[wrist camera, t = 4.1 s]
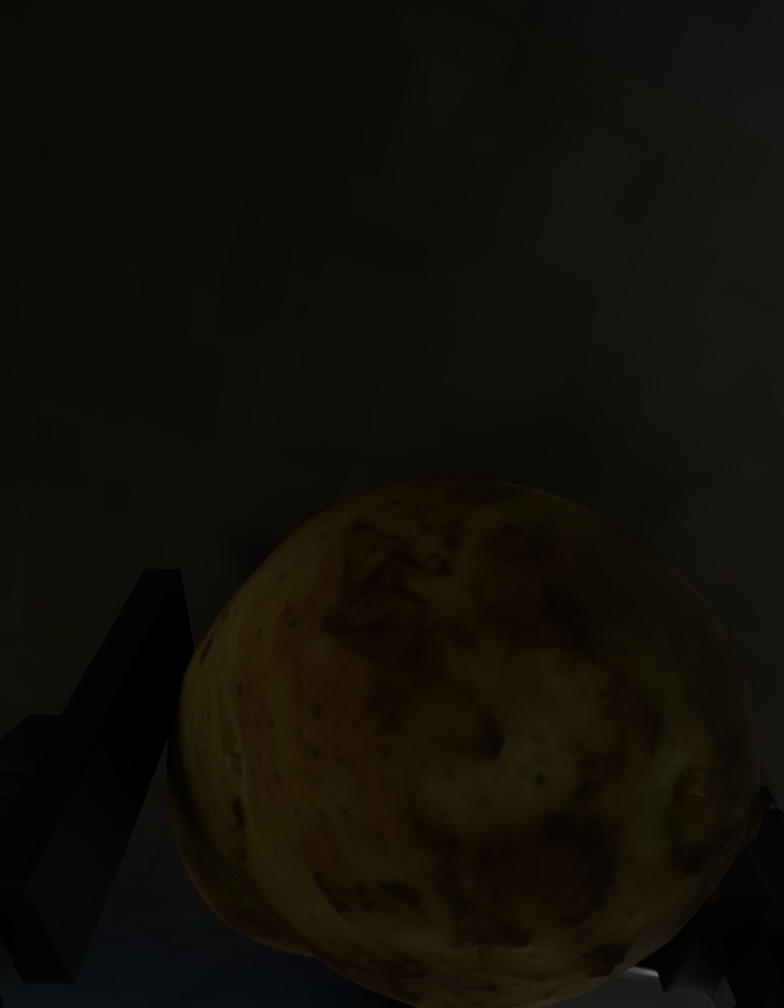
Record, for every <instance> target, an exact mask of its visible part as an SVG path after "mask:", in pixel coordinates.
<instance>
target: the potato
mask: <svg viewBox="0 0 784 1008" xmlns="http://www.w3.org/2000/svg"><path fill="white" fill-rule="evenodd" d="M760 782H761V764H760V733H759V728H758V723H757V718H756V710H755V708H754V703H753V700H752V697H751V694H750V691H749V688H748V684H747V681H746V678H745V675H744V672H743V669H742V666H741V663H740V660H739V656H738V654H737V652H736V650H735V648H734V646H733V644H732V642H731V641H730V639H729V637H728V635H727V633H726V631H725V629H724V628H723V626H722V624H721V622H720V620H719V618H718V617H717V615H716V614H715V612H714V611H713V610H712V608H711V607H710V605H709V604H708V602H707V601H706V600H705V598H704V597H703V596H702V595H701V594H700V593H699V592H698V591H697V590H696V589H695V587H694V586H693V585H692V584H691V583H690V582H689V581H688V580H687V579H686V578H685V577H684V576H683V575H682V574H681V573H680V572H679V571H678V570H677V569H676V568H675V567H674V566H673V565H672V564H671V563H670V562H669V561H667V560H666V559H665V558H663V557H662V556H661V555H659V554H658V553H657V552H656V551H654V550H653V549H652V548H650V547H649V546H648V545H647V544H645V543H644V542H643V541H642V540H640V539H639V538H638V537H636V536H635V535H634V534H632V533H630V532H629V531H627V530H626V529H624V528H622V527H621V526H619V525H618V524H616V523H614V522H613V521H611V520H609V519H608V518H606V517H604V516H603V515H601V514H599V513H597V512H595V511H593V510H590V509H588V508H586V507H584V506H581V505H579V504H577V503H575V502H572V501H570V500H568V499H566V498H563V497H560V496H557V495H555V494H552V493H549V492H546V491H543V490H540V489H537V488H533V487H530V486H527V485H524V484H521V483H520V482H519V481H518V480H517V479H516V480H515V482H514V483H511V482H507V481H504V480H501V479H497V478H496V477H494V476H493V475H491V474H490V473H476V474H474V473H471V474H454V475H435V476H422V477H416V478H414V479H412V480H410V481H406V482H402V483H398V484H394V485H390V486H386V487H383V488H379V489H376V490H372V491H369V492H365V493H363V494H360V495H358V496H355V497H353V498H350V499H348V500H345V501H343V502H340V503H338V504H336V505H334V506H333V505H331V506H328V507H326V508H325V509H323V510H321V511H316V512H309V513H305V514H304V515H303V516H302V517H301V518H299V519H298V521H297V523H296V525H295V526H294V528H293V530H292V531H291V534H290V535H289V536H288V537H287V538H286V539H285V540H284V541H283V542H282V543H281V544H280V545H279V546H278V547H277V548H276V549H275V550H274V551H273V552H272V553H271V554H270V555H269V556H268V557H267V558H266V559H265V560H264V561H263V562H262V563H261V564H260V566H259V567H258V568H257V569H256V570H255V571H254V572H253V573H252V574H251V576H250V577H249V578H248V579H247V580H246V581H245V582H244V583H243V584H242V585H241V587H240V588H239V589H238V590H237V591H236V592H235V593H234V594H233V596H232V597H231V598H230V600H229V601H228V603H227V604H226V605H225V607H224V608H223V610H222V611H221V612H220V614H219V615H218V617H217V618H216V620H215V622H214V623H213V625H212V627H211V628H210V630H209V631H208V632H207V634H206V635H205V636H204V637H203V639H202V640H201V642H200V644H199V645H198V647H197V648H196V650H195V652H194V654H193V655H192V657H191V659H190V661H189V664H188V666H187V669H186V671H185V674H184V676H183V678H182V681H181V683H180V686H179V692H178V697H177V702H176V706H175V709H174V712H173V715H172V723H171V729H170V734H169V740H168V751H167V784H168V798H169V809H170V815H171V820H172V825H173V829H174V834H175V839H176V844H177V847H178V850H179V853H180V857H181V859H182V862H183V864H184V866H185V868H186V871H187V872H188V874H189V876H190V878H191V880H192V882H193V884H194V886H195V889H196V891H197V894H198V897H199V899H201V900H202V901H203V902H205V903H206V904H207V905H208V906H209V907H210V908H211V909H212V910H213V911H214V913H215V914H216V915H217V916H218V917H219V918H221V919H222V920H223V921H224V922H226V923H227V924H228V925H230V926H231V927H232V928H233V929H235V930H236V931H238V932H239V933H241V934H242V935H244V936H246V937H248V938H250V939H252V940H254V941H256V942H259V943H261V944H264V945H267V946H269V947H273V948H276V949H279V950H282V951H285V952H289V953H294V954H299V955H304V956H312V957H315V958H317V959H318V960H320V961H321V962H323V963H324V964H325V965H327V966H328V967H330V968H331V969H333V970H334V971H336V972H338V973H340V974H341V975H343V976H345V977H347V978H348V979H350V980H352V981H354V982H356V983H357V984H359V985H361V986H363V987H364V988H367V989H369V990H371V991H373V992H376V993H378V994H380V995H383V996H386V997H389V998H392V999H395V1000H398V1001H401V1002H404V1003H407V1004H410V1005H414V1006H417V1007H420V1008H534V1007H540V1006H545V1005H550V1004H554V1003H557V1002H560V1001H563V1000H566V999H569V998H573V997H576V996H579V995H582V994H585V993H588V992H590V991H591V990H593V989H594V988H596V987H597V986H599V985H600V984H602V983H611V982H612V981H613V980H614V979H615V978H616V977H617V976H619V975H620V974H622V973H623V972H625V971H626V970H628V969H629V968H631V967H632V966H634V965H635V964H637V963H638V962H640V961H641V960H643V959H644V958H646V957H647V956H649V955H650V954H652V953H653V952H654V951H656V950H657V949H659V948H660V947H662V946H663V945H665V944H666V943H668V942H669V941H671V940H672V939H673V938H674V937H675V936H676V934H677V933H678V932H679V931H680V930H681V929H682V928H683V927H684V926H685V925H686V924H687V922H688V921H689V920H690V919H691V918H692V917H693V916H694V915H695V914H696V913H697V912H698V910H699V909H700V908H701V907H702V905H703V904H704V905H709V906H712V904H713V903H714V901H715V900H717V899H718V898H719V897H720V896H721V895H722V891H721V879H722V878H723V876H724V875H725V874H726V872H727V871H728V869H729V868H730V866H731V865H732V863H733V862H734V860H735V859H736V857H737V856H738V854H739V853H740V852H741V851H743V850H744V849H745V848H746V847H747V846H748V845H749V844H750V843H751V842H753V841H754V840H755V839H756V838H757V837H758V834H759V830H760V826H761V822H762V818H763V815H764V812H763V808H762V805H761V801H760V798H759V791H760Z"/></svg>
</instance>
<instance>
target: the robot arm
mask: <svg viewBox="0 0 784 1008" xmlns="http://www.w3.org/2000/svg"><path fill="white" fill-rule="evenodd" d="M194 652H195V650H194V644H193V639H192V633H191V627H190V622H189V616H188V610H187V605H186V599H185V593H184V588H183V582H182V577H181V571H180V569H145V570H144V572H143V573H142V575H141V577H140V579H139V580H138V582H137V584H136V585H135V587H134V589H133V591H132V592H131V594H130V596H129V598H128V599H127V601H126V603H125V604H124V606H123V608H122V610H121V611H120V613H119V615H118V617H117V618H116V620H115V622H114V624H113V625H112V627H111V629H110V630H109V632H108V634H107V636H106V637H105V639H104V641H103V643H102V644H101V646H100V648H99V649H98V651H97V653H96V655H95V656H94V658H93V660H92V662H91V663H90V665H89V667H88V668H87V670H86V672H85V674H84V675H83V677H82V679H81V681H80V682H79V684H78V686H77V688H76V689H75V691H74V693H73V694H72V696H71V698H70V700H69V701H68V703H67V705H66V707H65V708H64V710H63V712H62V713H61V715H28V716H27V717H26V718H25V719H24V720H23V721H21V722H20V723H19V724H18V725H17V726H16V727H14V728H13V729H12V730H11V731H10V732H9V733H8V734H6V735H5V736H4V737H3V738H2V739H1V740H0V993H1V991H2V988H3V986H4V984H5V982H6V980H7V977H8V975H9V973H10V971H11V969H12V967H13V966H14V968H15V970H16V971H17V973H18V975H19V976H20V978H21V980H22V982H23V983H45V984H75V983H76V980H77V978H78V975H79V972H80V970H81V967H82V964H83V962H84V959H85V956H86V954H87V951H88V948H89V946H90V943H91V940H92V938H93V935H94V932H95V930H96V927H97V924H98V922H99V919H100V916H101V914H102V911H103V908H104V906H105V903H106V900H107V898H108V895H109V893H110V890H111V887H112V885H113V882H114V879H115V877H116V874H117V871H118V869H119V866H120V863H121V861H122V858H123V855H124V853H125V850H126V847H127V845H128V842H129V839H130V837H131V834H132V831H133V829H134V826H135V823H136V821H137V818H138V815H139V813H140V810H141V807H142V805H143V802H144V799H145V797H146V794H147V791H148V789H149V786H150V783H151V781H152V778H153V775H154V773H155V770H156V767H157V765H158V762H159V759H160V757H161V754H162V751H163V749H164V746H165V743H166V741H167V738H168V736H169V733H170V729H171V723H172V715H173V712H174V709H175V706H176V702H177V697H178V692H179V686H180V683H181V681H182V678H183V676H184V674H185V671H186V669H187V666H188V664H189V661H190V659H191V657H192V655H193V654H194ZM763 782H764V781H763V779H762V777H761V782H760V791H759V798H760V801H761V805H762V808H763V812H764V815H763V818H762V822H761V826H760V830H759V834H758V837H757V838H756V839H755V840H754V841H753V842H751V843H750V844H749V845H748V846H747V847H746V848H745V849H744V850H743V851H741V852H740V853H739V854H738V856H737V857H736V859H735V860H734V862H733V863H732V865H731V866H730V868H729V869H728V871H727V872H726V874H725V875H724V876H723V878H722V879H721V891H722V895H721V896H720V897H719V898H718V899H717V900H715V901H714V903H713V904H712V906H709V905H704V904H703V905H702V907H701V908H700V909H699V910H698V912H697V913H696V914H695V915H694V916H693V917H692V918H691V919H690V920H689V921H688V922H687V924H686V925H685V926H684V927H683V928H682V929H681V930H680V931H679V932H678V933H677V934H676V936H675V937H674V938H673V939H672V940H671V941H669V942H668V943H666V944H665V945H663V946H662V947H660V948H659V949H657V950H656V951H654V952H653V953H652V954H650V955H649V956H647V957H646V958H644V959H643V960H641V961H640V962H638V963H637V964H635V965H634V966H632V967H631V968H629V969H628V970H626V971H625V972H623V973H622V974H620V975H619V976H617V977H616V978H615V979H614V980H613V981H612V982H611V983H602V984H600V985H599V986H597V987H596V988H594V989H593V990H591V991H590V992H588V993H585V994H582V995H579V996H576V997H573V998H569V999H566V1000H563V1001H560V1002H557V1003H554V1004H550V1005H545V1006H540V1007H534V1008H718V1007H717V1005H716V1002H715V999H714V996H713V994H712V993H714V991H715V990H716V988H717V987H718V985H719V983H720V982H721V980H722V979H723V977H724V976H725V975H726V978H727V980H728V983H729V985H730V988H731V990H732V993H733V995H734V998H735V1000H736V1003H737V1004H736V1005H735V1007H734V1008H784V815H783V813H782V811H781V810H778V808H777V803H776V801H775V799H774V798H773V796H772V794H771V793H770V791H769V789H768V787H766V786H764V783H763ZM0 1008H4V1007H3V1002H2V997H1V995H0ZM400 1008H420V1007H417V1006H414V1005H410V1004H407V1003H404V1002H402V1004H401V1006H400Z"/></svg>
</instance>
